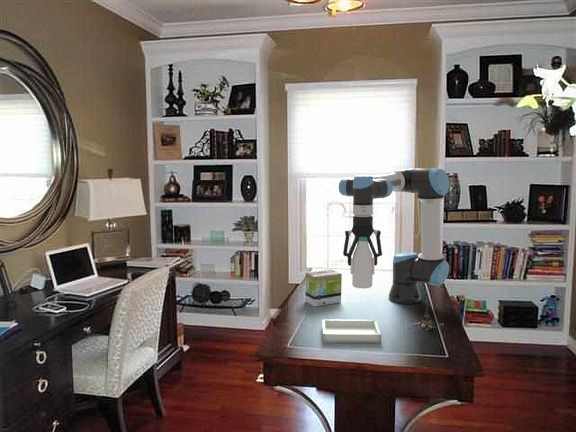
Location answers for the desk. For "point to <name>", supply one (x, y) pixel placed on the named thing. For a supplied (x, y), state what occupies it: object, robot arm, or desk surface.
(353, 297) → the desk surface
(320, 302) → the tea box
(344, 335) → the tray
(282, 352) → the desk surface
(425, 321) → the eiffel tower figurine
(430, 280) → the robot arm
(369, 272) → the milk bottle
